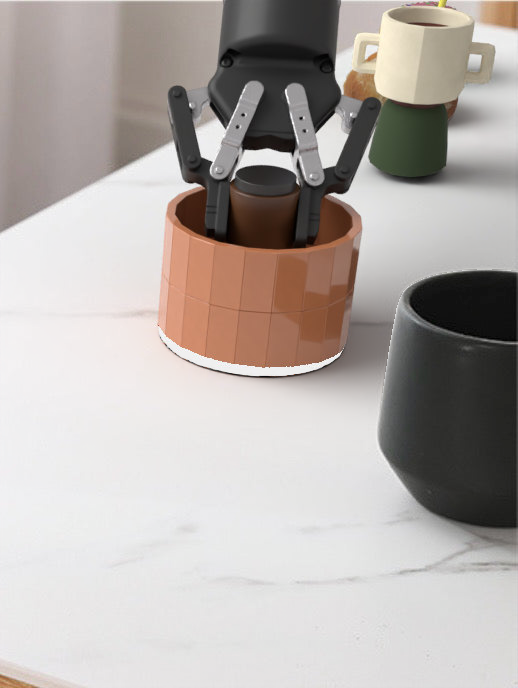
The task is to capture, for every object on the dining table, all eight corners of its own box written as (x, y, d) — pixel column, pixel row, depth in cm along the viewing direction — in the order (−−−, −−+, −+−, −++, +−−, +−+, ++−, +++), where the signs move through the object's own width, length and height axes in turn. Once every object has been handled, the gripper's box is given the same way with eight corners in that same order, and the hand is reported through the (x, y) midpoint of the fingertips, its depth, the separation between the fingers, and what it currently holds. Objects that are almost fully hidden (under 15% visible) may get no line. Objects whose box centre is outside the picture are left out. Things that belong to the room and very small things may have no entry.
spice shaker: (287, 287, 104) (301, 165, 100) (287, 315, 100) (302, 189, 96) (220, 281, 105) (231, 161, 101) (217, 309, 101) (229, 185, 97)
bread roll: (352, 163, 143) (378, 98, 136) (319, 86, 149) (343, 20, 142) (455, 157, 144) (485, 91, 138) (418, 80, 150) (445, 14, 144)
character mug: (476, 165, 132) (502, 11, 126) (470, 193, 126) (498, 33, 120) (344, 150, 135) (363, -1, 129) (333, 177, 130) (352, 21, 123)
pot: (342, 304, 108) (358, 187, 104) (348, 385, 97) (366, 259, 93) (164, 290, 110) (172, 175, 106) (151, 368, 100) (160, 244, 96)
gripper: (172, -31, 101) (145, 213, 96) (401, -21, 98) (385, 230, 94) (171, 29, 108) (146, 259, 104) (385, 40, 106) (369, 276, 101)
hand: (260, 244), depth 99 cm, fingers closed on spice shaker, 4 cm apart
